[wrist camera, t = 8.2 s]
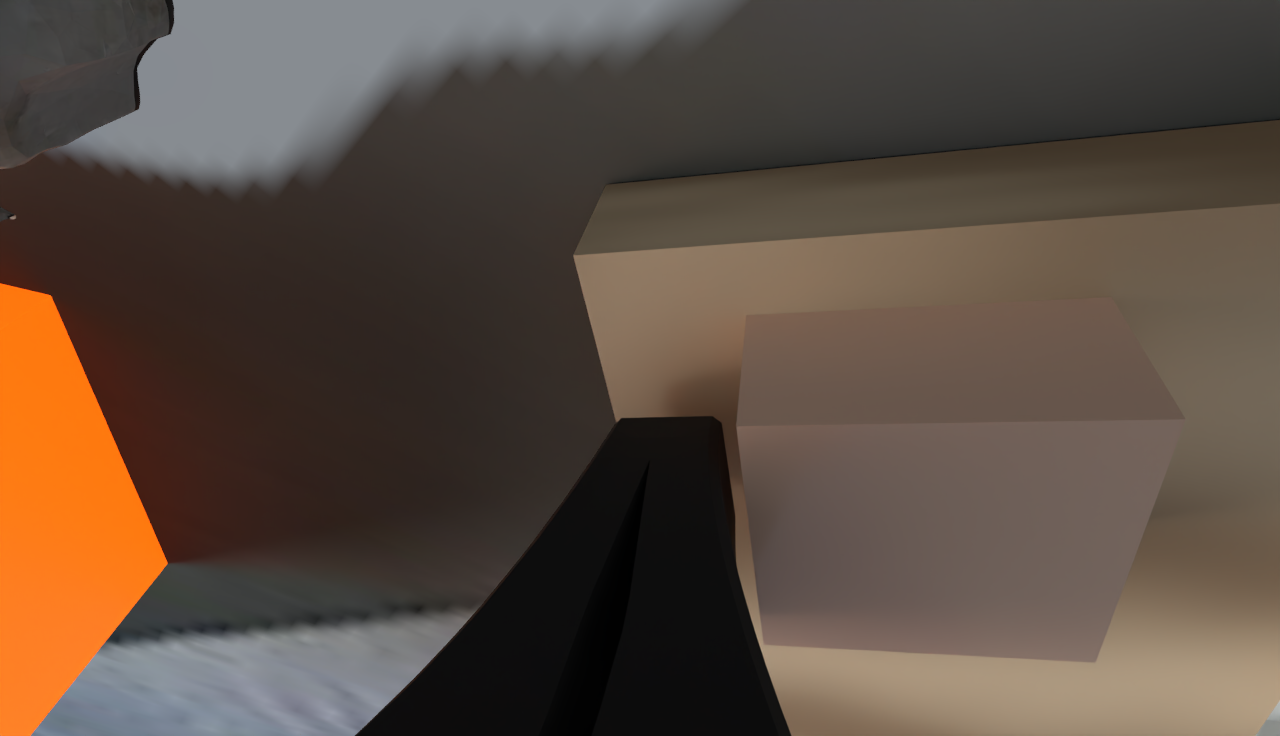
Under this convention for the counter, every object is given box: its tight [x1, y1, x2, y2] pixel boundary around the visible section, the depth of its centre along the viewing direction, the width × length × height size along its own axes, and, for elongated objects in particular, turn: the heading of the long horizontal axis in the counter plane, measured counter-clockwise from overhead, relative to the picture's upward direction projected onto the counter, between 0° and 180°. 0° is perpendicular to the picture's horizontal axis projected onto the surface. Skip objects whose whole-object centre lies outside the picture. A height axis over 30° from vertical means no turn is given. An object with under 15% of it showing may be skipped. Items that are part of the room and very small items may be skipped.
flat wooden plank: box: [573, 120, 1280, 736], centre depth 12 cm, size 12×10×2 cm
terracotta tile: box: [736, 297, 1186, 663], centre depth 9 cm, size 4×4×2 cm
